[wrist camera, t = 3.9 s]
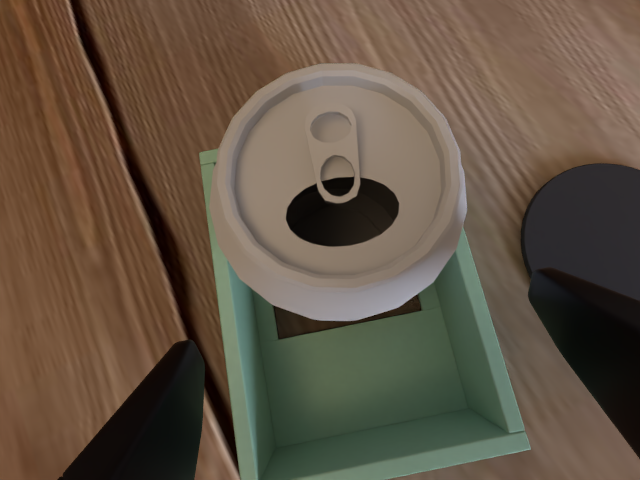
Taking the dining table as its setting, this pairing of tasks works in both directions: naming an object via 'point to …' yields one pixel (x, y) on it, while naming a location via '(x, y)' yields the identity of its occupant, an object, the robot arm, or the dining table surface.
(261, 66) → the dining table surface
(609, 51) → the dining table surface
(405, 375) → the green open box
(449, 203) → the can
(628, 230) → the coaster
